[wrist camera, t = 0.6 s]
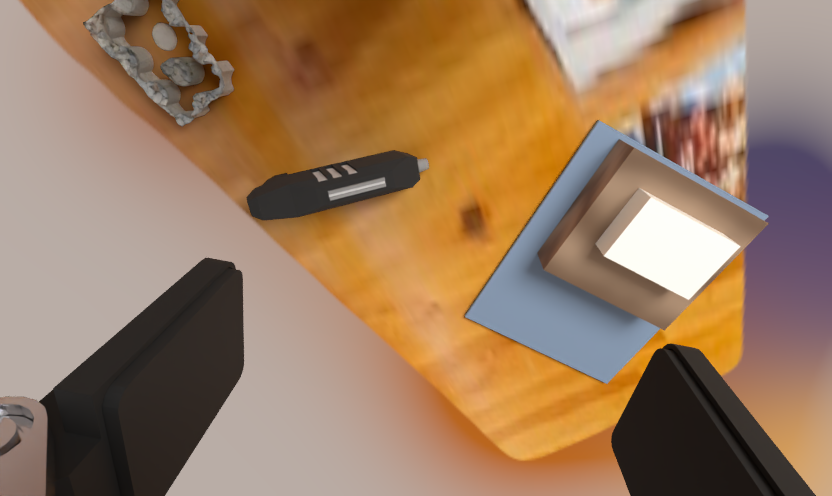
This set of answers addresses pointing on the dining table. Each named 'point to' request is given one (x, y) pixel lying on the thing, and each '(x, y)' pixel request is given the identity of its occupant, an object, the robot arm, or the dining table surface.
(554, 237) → the block
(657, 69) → the dining table surface
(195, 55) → the grey castle ruin model
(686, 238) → the tile
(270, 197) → the gun
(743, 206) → the placemat
